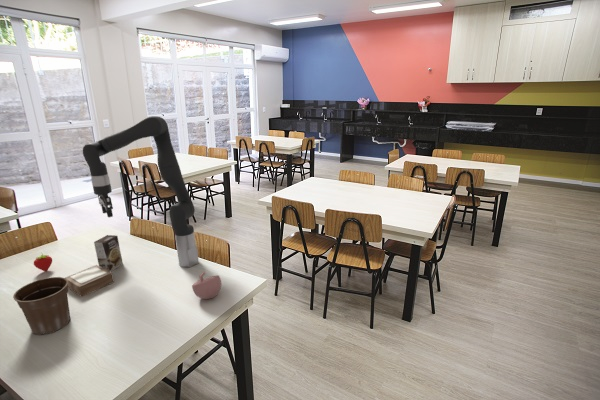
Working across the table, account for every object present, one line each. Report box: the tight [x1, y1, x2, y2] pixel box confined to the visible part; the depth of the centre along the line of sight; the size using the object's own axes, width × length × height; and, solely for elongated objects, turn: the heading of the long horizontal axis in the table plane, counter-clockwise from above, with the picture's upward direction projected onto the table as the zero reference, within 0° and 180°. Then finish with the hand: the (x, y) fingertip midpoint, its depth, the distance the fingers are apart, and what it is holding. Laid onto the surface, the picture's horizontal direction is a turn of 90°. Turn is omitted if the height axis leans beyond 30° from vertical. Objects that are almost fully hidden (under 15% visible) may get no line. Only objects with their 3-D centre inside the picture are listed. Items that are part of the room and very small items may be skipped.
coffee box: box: [93, 234, 123, 273], centre depth 165 cm, size 9×6×16 cm
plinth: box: [64, 264, 115, 298], centre depth 152 cm, size 14×14×5 cm
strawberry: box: [33, 253, 53, 272], centre depth 164 cm, size 6×8×10 cm
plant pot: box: [12, 276, 71, 336], centre depth 124 cm, size 16×16×16 cm
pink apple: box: [191, 271, 222, 300], centre depth 140 cm, size 12×12×12 cm
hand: (107, 214), depth 165 cm, fingers open, 8 cm apart
